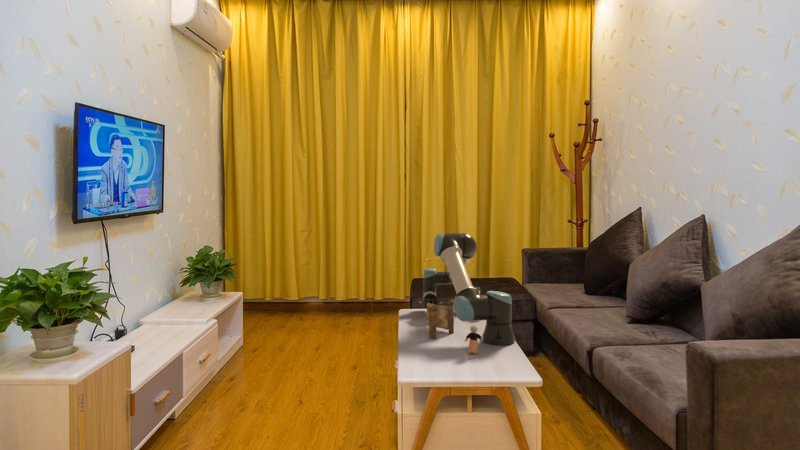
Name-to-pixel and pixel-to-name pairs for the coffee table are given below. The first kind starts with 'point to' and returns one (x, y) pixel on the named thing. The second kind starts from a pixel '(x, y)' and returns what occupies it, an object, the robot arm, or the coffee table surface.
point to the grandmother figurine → (473, 340)
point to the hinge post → (451, 316)
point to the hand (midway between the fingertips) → (432, 309)
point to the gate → (440, 316)
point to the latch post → (432, 322)
